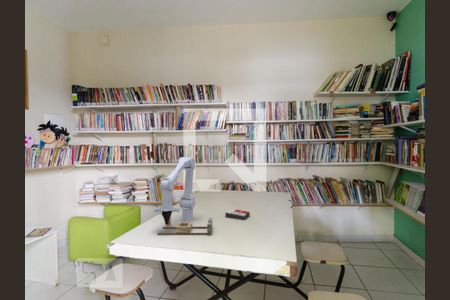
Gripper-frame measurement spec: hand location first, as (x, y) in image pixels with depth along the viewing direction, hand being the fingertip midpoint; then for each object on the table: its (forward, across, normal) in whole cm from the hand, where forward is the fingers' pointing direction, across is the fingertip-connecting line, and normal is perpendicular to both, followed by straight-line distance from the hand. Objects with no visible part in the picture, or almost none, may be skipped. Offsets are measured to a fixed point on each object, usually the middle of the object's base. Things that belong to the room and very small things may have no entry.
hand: (167, 224), depth 120 cm
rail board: (+6, +11, 0) cm, 12 cm away
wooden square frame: (+4, +10, 0) cm, 11 cm away
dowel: (+6, -2, +10) cm, 12 cm away
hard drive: (+6, +43, +31) cm, 53 cm away
